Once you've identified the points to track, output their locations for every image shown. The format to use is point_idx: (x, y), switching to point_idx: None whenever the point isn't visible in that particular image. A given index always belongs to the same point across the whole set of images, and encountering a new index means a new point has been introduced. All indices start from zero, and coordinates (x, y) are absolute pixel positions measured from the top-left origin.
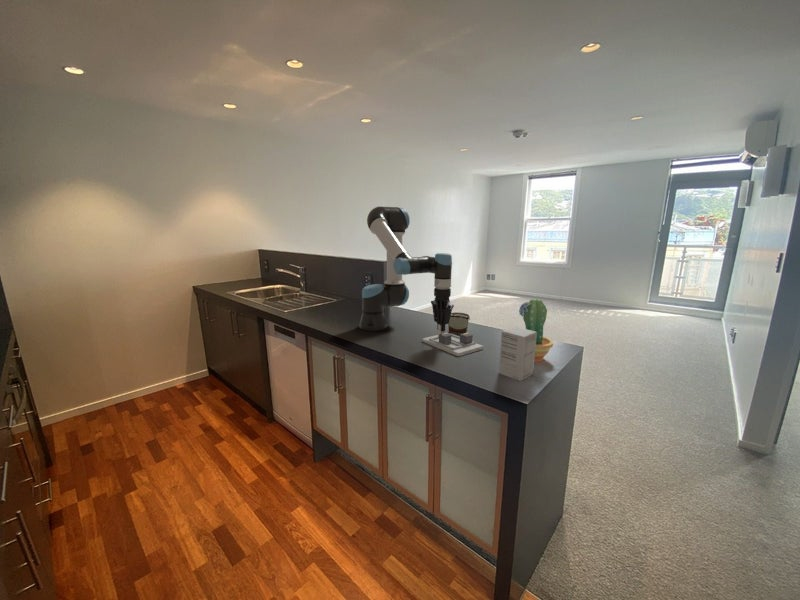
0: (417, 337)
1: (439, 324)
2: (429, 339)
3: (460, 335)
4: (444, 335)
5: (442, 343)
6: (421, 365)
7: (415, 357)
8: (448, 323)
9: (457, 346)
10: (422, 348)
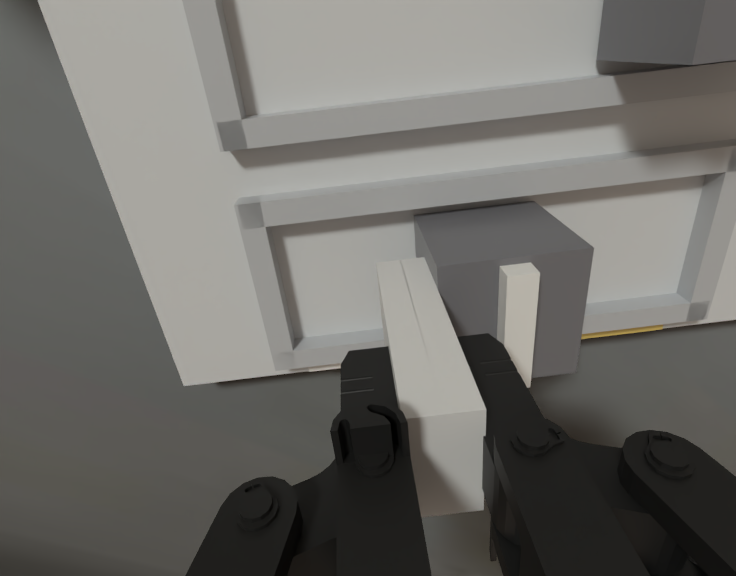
0: (25, 340)
1: (492, 544)
2: (285, 364)
3: (691, 61)
4: (534, 353)
5: None
6: None
7: None
8: (679, 443)
9: (709, 238)
10: None
